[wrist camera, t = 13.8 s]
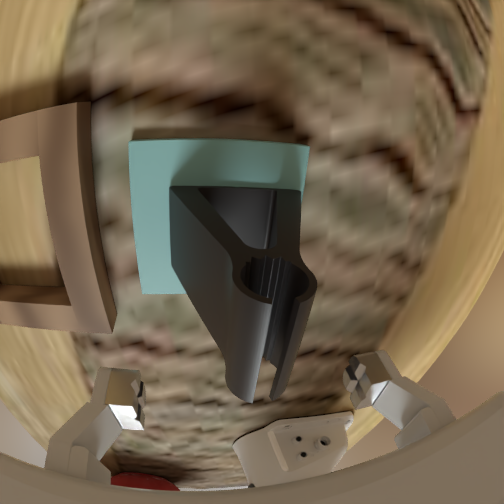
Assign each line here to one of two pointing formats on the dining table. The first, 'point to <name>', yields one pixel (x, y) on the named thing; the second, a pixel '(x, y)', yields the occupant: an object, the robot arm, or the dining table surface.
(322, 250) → the dining table surface
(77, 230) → the walnut holder
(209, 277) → the dark gray a-frame stand
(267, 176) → the teal mat
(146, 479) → the mixing bowl
